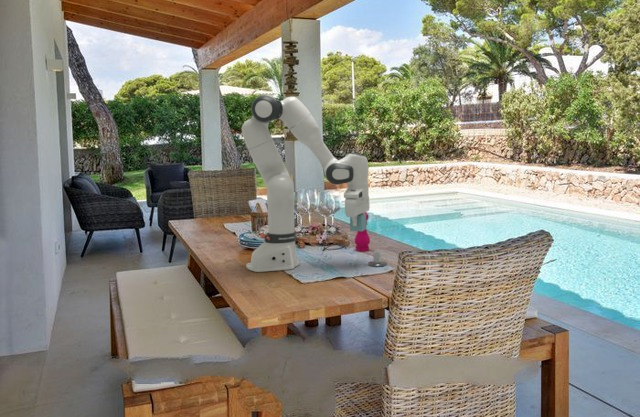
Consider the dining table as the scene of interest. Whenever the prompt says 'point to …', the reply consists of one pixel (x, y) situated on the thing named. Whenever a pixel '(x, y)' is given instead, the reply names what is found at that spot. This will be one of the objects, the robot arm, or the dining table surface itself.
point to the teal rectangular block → (359, 223)
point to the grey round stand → (377, 260)
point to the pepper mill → (362, 239)
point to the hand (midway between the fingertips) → (358, 224)
